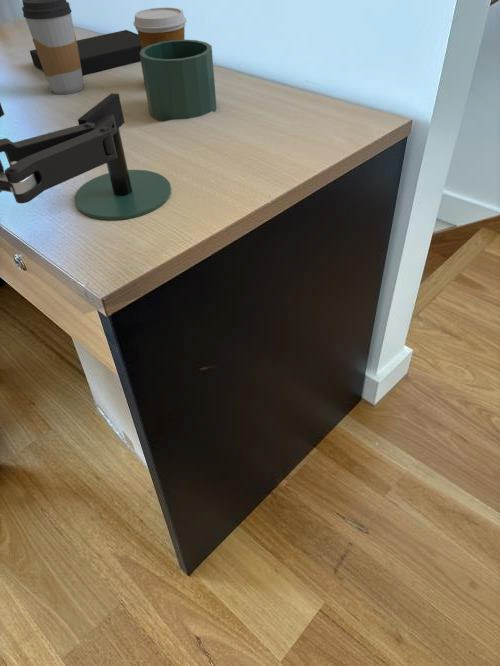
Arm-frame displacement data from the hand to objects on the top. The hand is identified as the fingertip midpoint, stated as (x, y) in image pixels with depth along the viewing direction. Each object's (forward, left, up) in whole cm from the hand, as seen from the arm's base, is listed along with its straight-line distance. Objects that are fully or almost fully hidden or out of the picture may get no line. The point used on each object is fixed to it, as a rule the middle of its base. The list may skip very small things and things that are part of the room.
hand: (55, 104), depth 50 cm
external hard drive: (-70, +16, -15) cm, 73 cm away
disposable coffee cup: (-47, +25, -15) cm, 55 cm away
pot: (-33, +23, -15) cm, 43 cm away
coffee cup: (-55, +7, -15) cm, 57 cm away
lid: (-7, +6, -15) cm, 17 cm away
